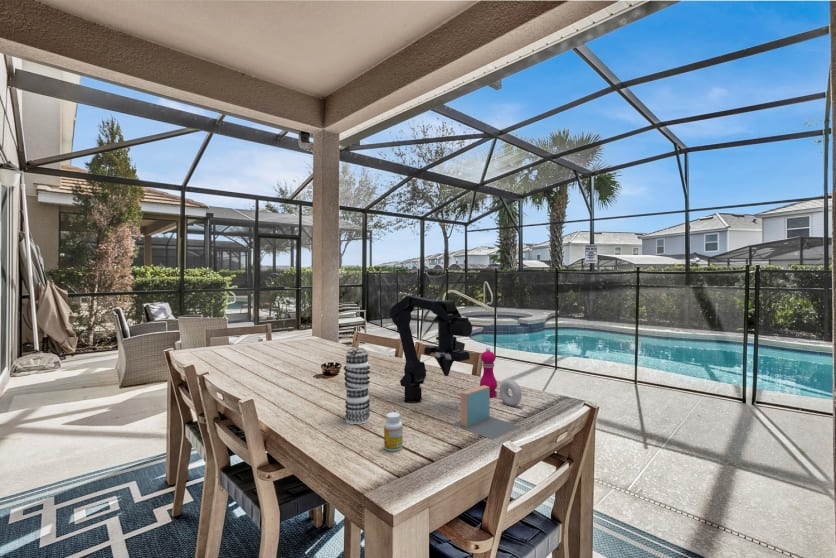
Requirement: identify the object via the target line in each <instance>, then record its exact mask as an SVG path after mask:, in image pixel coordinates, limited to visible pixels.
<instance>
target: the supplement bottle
mask: <svg viewBox="0 0 836 558" xmlns="http://www.w3.org/2000/svg"><path fill="white" fill-rule="evenodd" d="M385 417H386V418H385V422H384V424H383V433H384V435H383V440H384V442H383V445H384V449H385V450H386V451H387V452H399V451H401V450H402V448H403V446H404V445H403V444H404V443H403V440H404V437H403V422H402V421H401V414H400V413H399V412H393V411H392V412H389V413H387V414H386V416H385Z"/></svg>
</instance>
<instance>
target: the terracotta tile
mask: <svg viewBox="0 0 836 558" xmlns="http://www.w3.org/2000/svg"><path fill="white" fill-rule="evenodd" d="M490 398H491V397H490V391H489V387H488V386H485V385H483V386H480V385H479V386H477V387H473V388H471V389H467V390H464V391H461V392H460V421H461V425H462V426H464V427H469V426H472V425H474V424H477V423H479V422H482V421H484V420H487V419H489V418H490V416H491V415H490V414H491V413H490V411H491V410H490V408H491V407H490V406H491V405H490V404H491V403H490V402H491V401H490Z"/></svg>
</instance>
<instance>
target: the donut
mask: <svg viewBox="0 0 836 558" xmlns="http://www.w3.org/2000/svg"><path fill="white" fill-rule="evenodd" d="M499 385H500V386H499V396H500V398H501V400H502V402H504V403H505V404H506V405H508V406H511V407H515V406H518V405H519V403H520V402H521V399H522V396H523V395H522V390H521V387H520V385H519V383H517V382H516V381H515V380H513V379H508V378H507V379H505V380H503V381H502V382H501V384H499ZM509 389H510V391H511V393H512V395H510V394H509Z"/></svg>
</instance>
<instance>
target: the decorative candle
mask: <svg viewBox="0 0 836 558" xmlns="http://www.w3.org/2000/svg"><path fill="white" fill-rule="evenodd" d="M344 354H345V356H346V357H345V360H346V361H345V365H344V366H343V371H344V381H345V382H344V387H345V389H346V395H345V402H344V403H345V406H344V407H345V423H347V422H348V423H350V424H349V425H353V424H358V425H363V424H362V423H364V424H366V423H368V422H369V421H370V420H371V418H370V415H371V414H370V411H371V409H370V406H371V405H370V401H371V400H370V398H369V396H370V395H369V394H370V393H369V387H370V383H371V381H370V380H369V379H370V377H371V376H369V374H370V373H371V371H370V369H371V366H369V360H368V358H369V356H368V355H369V352H368V351H367V350H366V349H365V348H363V347H352V348H349V349H348V350H347V352H346V353H344ZM348 423H347V424H348Z"/></svg>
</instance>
